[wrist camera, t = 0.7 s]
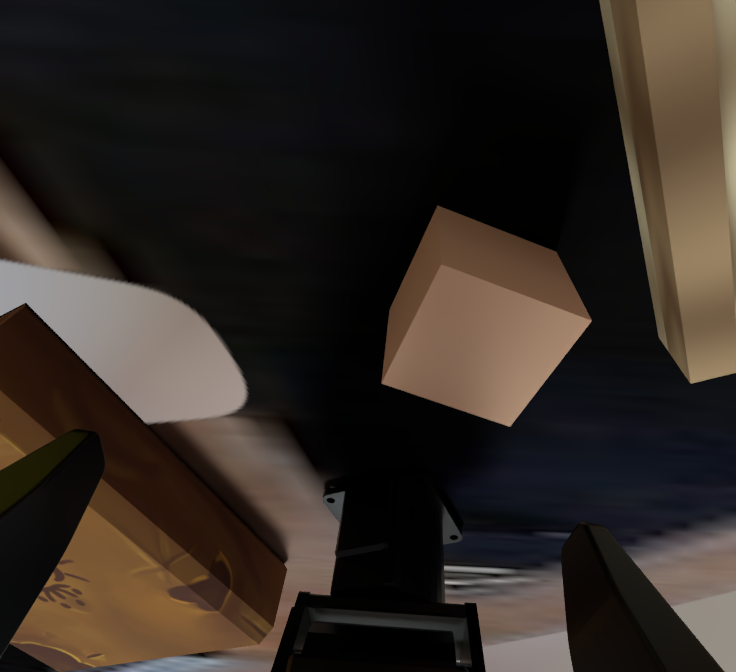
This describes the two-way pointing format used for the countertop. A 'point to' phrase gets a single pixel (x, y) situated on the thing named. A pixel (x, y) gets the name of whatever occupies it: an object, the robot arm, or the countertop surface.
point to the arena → (682, 166)
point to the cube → (480, 319)
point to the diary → (127, 526)
